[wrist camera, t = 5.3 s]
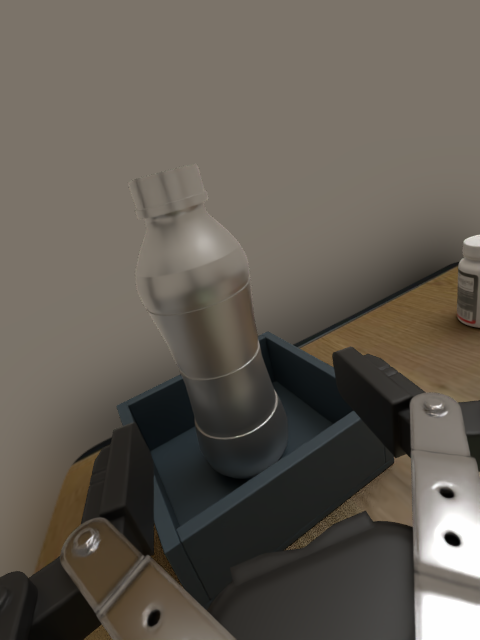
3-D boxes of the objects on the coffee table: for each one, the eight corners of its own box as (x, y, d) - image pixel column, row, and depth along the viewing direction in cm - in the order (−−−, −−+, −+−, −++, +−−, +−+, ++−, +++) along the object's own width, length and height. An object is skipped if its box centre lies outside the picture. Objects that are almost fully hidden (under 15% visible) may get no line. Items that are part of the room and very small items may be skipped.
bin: (199, 616, 17) (163, 553, 15) (141, 455, 29) (116, 405, 26) (394, 462, 22) (390, 398, 20) (278, 378, 34) (267, 331, 31)
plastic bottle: (311, 441, 25) (253, 148, 17) (251, 512, 21) (136, 176, 13) (249, 411, 29) (179, 170, 21) (191, 465, 25) (76, 195, 17)
